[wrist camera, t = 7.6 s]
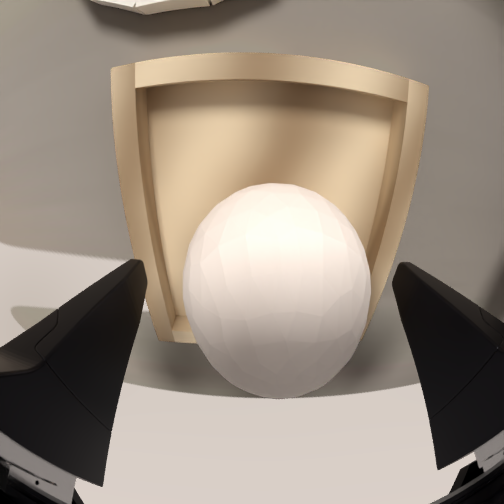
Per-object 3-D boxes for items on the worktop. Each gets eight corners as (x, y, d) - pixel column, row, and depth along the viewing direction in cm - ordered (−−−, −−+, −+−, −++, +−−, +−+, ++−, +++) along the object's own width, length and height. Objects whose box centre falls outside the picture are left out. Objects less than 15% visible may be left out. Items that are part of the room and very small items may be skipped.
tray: (404, 84, 9) (428, 85, 7) (353, 317, 17) (361, 340, 15) (131, 70, 9) (110, 68, 7) (165, 316, 16) (158, 340, 15)
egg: (362, 191, 11) (454, 337, 5) (299, 287, 14) (320, 429, 8) (227, 133, 10) (181, 268, 3) (186, 254, 13) (148, 407, 7)
